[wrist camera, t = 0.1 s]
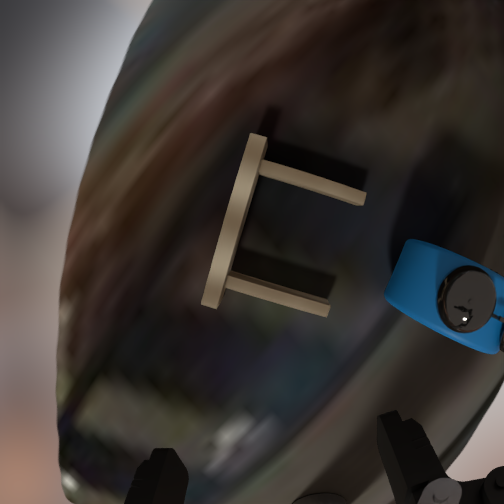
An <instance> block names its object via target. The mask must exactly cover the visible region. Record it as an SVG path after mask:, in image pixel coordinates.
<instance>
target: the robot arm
mask: <svg viewBox="0 0 504 504" xmlns="http://www.w3.org/2000/svg"><path fill="white" fill-rule="evenodd" d="M377 444H378V449H379V453H380V456H381V459H382V461H383V464H384V467H385V470H386V473H387V476H388V479H389V482H390V485H391V488H392V491H393V494H394V498H395V501H396V504H504V466H501V467H497V468H495V469H493V470H492V471H491V472H490V473H489V474H488V475H487V477H486V478H482V479H477V480H471V481H465V482H461V481H456V480H454V479H451V478H450V477H448V476H447V474H446V473H445V471H444V469H443V467H442V465H441V463H440V461H439V459H438V457H437V455H436V453H435V451H434V449H433V447H432V445H431V444H430V441H429V439H428V437H427V436H426V433H425V431H424V429H423V428H422V426H421V425H420V424H419V423H418V422H416V421H415V420H413V419H412V418H411V419H408V420H405V421H402V419H401V417H400V415H399V413H398V411H397V410H394V411H391V412H388V413H385V414H381V415H378V416H377ZM188 481H189V476H188V471H187V469H186V467H185V466H184V464H183V463H182V461H181V460H180V458H179V456H178V455H177V453H176V452H175V450H174V449H173V448H155V449H154V450H153V451H152V454H151V456H150V459H149V460H144V461H143V462H142V463H141V465H140V466H139V467H138V468H137V470H136V473H135V475H134V480H133V481H132V483H131V488H130V489H129V491H128V494H127V497H126V500H125V502H124V504H184V500H185V495H186V490H187V486H188ZM293 504H347V503H346V500H345V499H344V498H343V497H341V496H339V495H336V494H328V493H322V494H314V495H310V496H306V497H303V498H301V499H299V500H297V501H295V502H294V503H293Z"/></svg>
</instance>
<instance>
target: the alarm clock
mask: <svg viewBox="0 0 504 504" xmlns="http://www.w3.org/2000/svg"><path fill="white" fill-rule="evenodd" d="M384 296H385V298H386V300H387V301H388V302H389V303H390V304H392V305H393V306H394V307H396V308H397V309H398V310H400V311H401V312H403V313H405V314H406V315H408V316H409V317H411V318H413V319H414V320H416V321H418V322H420V323H421V324H423V325H425V326H427V327H429V328H430V329H432V330H434V331H436V332H438V333H440V334H442V335H444V336H446V337H448V338H450V339H452V340H454V341H456V342H458V343H461V344H463V345H465V346H468V347H470V348H472V349H475V350H478V351H481V352H484V353H487V354H496V353H497V352H499V350H501V351H503V352H504V277H502V276H501V275H500V274H498V273H497V272H494V271H492V270H491V269H488V268H486V267H484V266H482V265H480V264H478V263H476V262H474V261H472V260H470V259H468V258H466V257H463V256H461V255H459V254H457V253H454V252H452V251H449V250H447V249H444V248H442V247H439V246H436V245H433V244H430V243H427V242H424V241H420V240H416V239H408V240H407V241H406V242H405V245H404V247H403V250H402V252H401V254H400V257H399V259H398V262H397V264H396V266H395V269H394V271H393V273H392V276H391V278H390V280H389V283H388V285H387V287H386V289H385V292H384Z"/></svg>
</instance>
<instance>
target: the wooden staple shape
mask: <svg viewBox="0 0 504 504" xmlns="http://www.w3.org/2000/svg"><path fill="white" fill-rule="evenodd" d="M267 147H268V146H267V137H263V136H260V135H256V134H252V133H250V136H249V139H248V142H247V146H246V149H245V152H244V155H243V159H242V162H241V165H240V168H239V172H238V175H237V178H236V182H235V185H234V188H233V192H232V195H231V198H230V202H229V205H228V209H227V212H226V216H225V219H224V222H223V226H222V229H221V233H220V236H219V240H218V243H217V247H216V251H215V254H214V258H213V261H212V265H211V269H210V272H209V276H208V280H207V283H206V287H205V291H204V294H203V298H202V302H201V304H202V305H205V306H208V307H211V308H215V309H217V307H218V306H219V304H220V302H221V300H222V298H223V296H224V292H225V289H226V288H228V289H232V290H235V291H238V292H241V293H245V294H248V295H251V296H255V297H258V298H261V299H265V300H268V301H271V302H275V303H278V304H282V305H285V306H289V307H292V308H295V309H299V310H302V311H306V312H310V313H313V314H317V315H320V316H324V317H327V315H328V312H329V309H330V307H331V305H330V304H329V302H328V300H327V299H325V298H321V297H318V296H315V295H311V294H308V293H304V292H301V291H297V290H294V289H291V288H287V287H284V286H281V285H277V284H274V283H271V282H267V281H264V280H261V279H257V278H254V277H251V276H247V275H244V274H241V273H237V272H234V271H231V268H232V264H233V261H234V258H235V254H236V251H237V247H238V244H239V240H240V237H241V234H242V230H243V227H244V223H245V220H246V217H247V213H248V210H249V207H250V203H251V200H252V196H253V193H254V190H255V186H256V183H257V180H258V176H259V175H262V176H266V177H269V178H272V179H276V180H279V181H282V182H286V183H289V184H292V185H296V186H299V187H302V188H305V189H308V190H311V191H315V192H318V193H321V194H324V195H327V196H330V197H333V198H336V199H339V200H342V201H345V202H348V203H351V204H353V205H356V206H358V205H363V204H364V201H365V197H366V194H367V193H365V192H362V191H360V190H357V189H354V188H351V187H348V186H345V185H343V184H340V183H337V182H334V181H331V180H328V179H325V178H322V177H319V176H316V175H312V174H309V173H306V172H303V171H300V170H297V169H293V168H290V167H287V166H283V165H280V164H277V163H273V162H270V161H266V160H264V157H265V153H266V150H267Z"/></svg>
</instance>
